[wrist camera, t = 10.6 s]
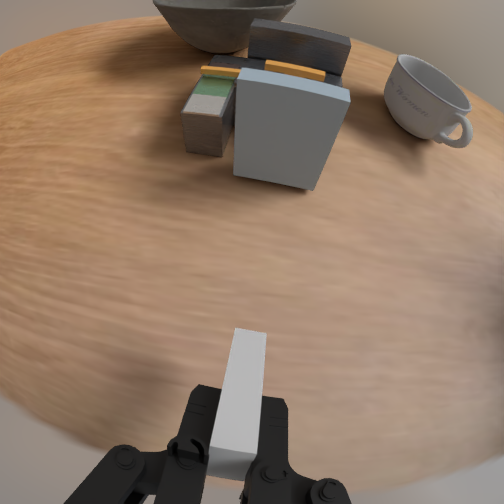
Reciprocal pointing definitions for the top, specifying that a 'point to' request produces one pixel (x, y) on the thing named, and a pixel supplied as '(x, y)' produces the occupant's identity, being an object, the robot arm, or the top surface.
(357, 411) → the top surface
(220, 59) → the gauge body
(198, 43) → the bowl
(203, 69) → the orange bar
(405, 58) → the teacup
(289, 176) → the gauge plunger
